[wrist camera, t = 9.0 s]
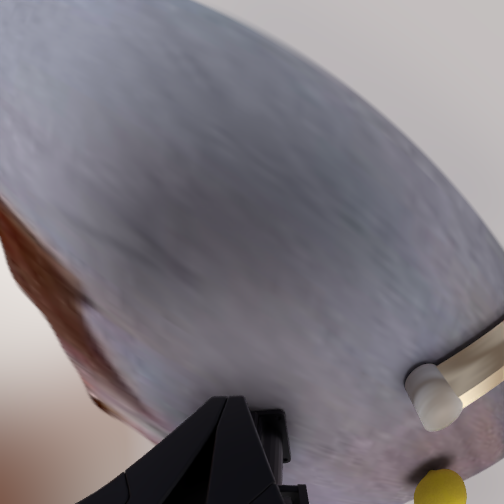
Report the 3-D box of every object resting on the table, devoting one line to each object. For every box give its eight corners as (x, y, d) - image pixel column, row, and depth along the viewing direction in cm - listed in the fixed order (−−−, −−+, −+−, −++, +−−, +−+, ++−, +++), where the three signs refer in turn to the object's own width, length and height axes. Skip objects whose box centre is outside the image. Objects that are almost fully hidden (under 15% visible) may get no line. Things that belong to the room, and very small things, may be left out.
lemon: (459, 460, 22) (483, 509, 14) (422, 488, 23) (438, 538, 16) (438, 450, 22) (463, 506, 14) (397, 480, 23) (413, 537, 15)
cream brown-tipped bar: (409, 400, 20) (427, 437, 16) (400, 376, 19) (420, 414, 15) (513, 332, 18) (542, 356, 14) (511, 304, 17) (543, 326, 13)
